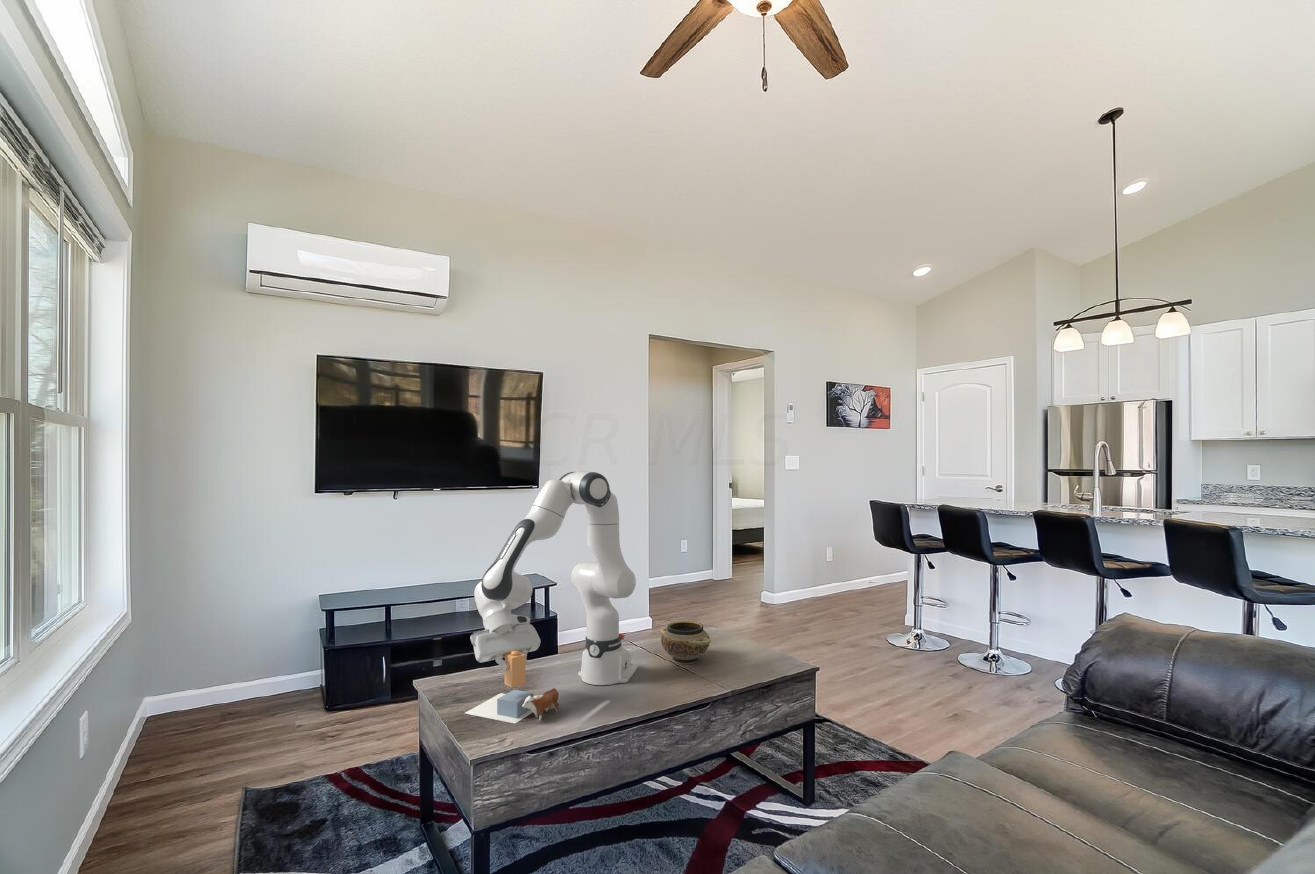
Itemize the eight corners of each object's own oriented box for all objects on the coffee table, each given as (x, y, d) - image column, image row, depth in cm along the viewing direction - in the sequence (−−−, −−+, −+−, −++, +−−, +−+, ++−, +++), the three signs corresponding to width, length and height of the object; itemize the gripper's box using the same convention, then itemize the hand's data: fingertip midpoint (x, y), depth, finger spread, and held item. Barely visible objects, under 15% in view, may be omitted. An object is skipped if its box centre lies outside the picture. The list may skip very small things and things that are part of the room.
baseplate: (500, 696, 202) (500, 693, 202) (548, 705, 195) (548, 701, 195) (464, 716, 187) (464, 713, 187) (515, 727, 179) (515, 723, 179)
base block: (513, 704, 193) (513, 689, 193) (533, 708, 190) (533, 693, 190) (497, 714, 186) (497, 698, 186) (517, 718, 183) (517, 702, 183)
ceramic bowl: (652, 662, 243) (644, 625, 242) (688, 642, 253) (680, 607, 251) (691, 681, 223) (683, 641, 221) (729, 659, 233) (721, 620, 231)
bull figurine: (519, 726, 180) (519, 696, 180) (552, 710, 191) (552, 682, 192) (530, 729, 178) (530, 700, 178) (563, 713, 189) (563, 685, 189)
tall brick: (504, 683, 188) (504, 651, 188) (517, 680, 191) (518, 648, 191) (511, 687, 185) (512, 655, 185) (525, 684, 188) (525, 652, 188)
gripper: (472, 627, 187) (486, 669, 179) (533, 616, 200) (549, 654, 193) (465, 639, 190) (479, 681, 182) (526, 627, 204) (541, 666, 196)
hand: (516, 667), depth 188 cm, fingers closed on tall brick, 4 cm apart
